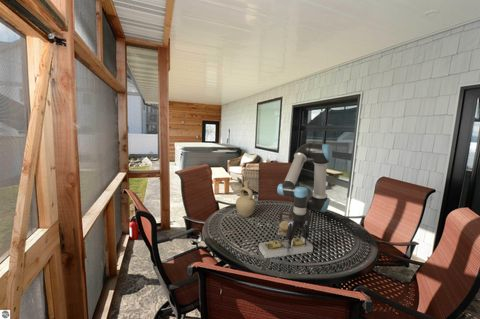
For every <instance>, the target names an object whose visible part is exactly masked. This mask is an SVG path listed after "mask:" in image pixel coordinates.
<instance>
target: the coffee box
mask: <svg viewBox="0 0 480 319" xmlns="http://www.w3.org/2000/svg"><path fill="white" fill-rule="evenodd" d="M292 221H293V211H289V210H288V211H287V210H283V209H280V211H279V217H278V228H277V229H278V231H277V235H278V236H282V237H286V234H287V229H288V222H289V223H291V222H292ZM291 230H292V229H291Z"/></svg>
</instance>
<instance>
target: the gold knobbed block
mask: <svg viewBox="0 0 480 319" xmlns="http://www.w3.org/2000/svg"><path fill="white" fill-rule="evenodd" d="M292 240H293V246H301V245H303V241H302V240H300V239H299V237H293V239H292Z"/></svg>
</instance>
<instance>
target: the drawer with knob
mask: <svg viewBox="0 0 480 319" xmlns="http://www.w3.org/2000/svg"><path fill="white" fill-rule="evenodd" d="M278 241H279V240H270V241H269V240H268V242H269V249H277V248H281V244H280V243H279V242H278Z"/></svg>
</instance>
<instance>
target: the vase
mask: <svg viewBox="0 0 480 319" xmlns="http://www.w3.org/2000/svg"><path fill="white" fill-rule="evenodd" d="M250 182H251V181H250V180H243V183H244V184H243V185H244V186H242V187H241V188H240V189H239V197H238V198H237V199H236V201H235V207H236V211H237V212H238V214H239V216H240V217H242V218H248V217H250V216H252V215H253V213H254V211H255V210H256V207H257V206H256V205H257V203H256V200H255V198H253V197H254V193H253V191H252V189H250V187H249V185H250ZM244 191H246V192H247V194H248V195H245V193H244Z"/></svg>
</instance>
